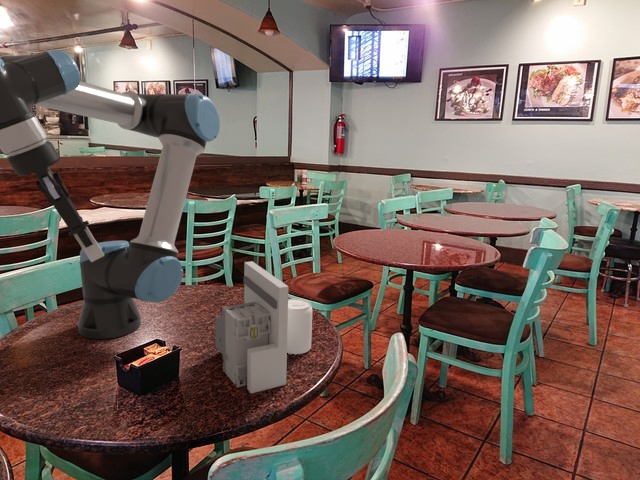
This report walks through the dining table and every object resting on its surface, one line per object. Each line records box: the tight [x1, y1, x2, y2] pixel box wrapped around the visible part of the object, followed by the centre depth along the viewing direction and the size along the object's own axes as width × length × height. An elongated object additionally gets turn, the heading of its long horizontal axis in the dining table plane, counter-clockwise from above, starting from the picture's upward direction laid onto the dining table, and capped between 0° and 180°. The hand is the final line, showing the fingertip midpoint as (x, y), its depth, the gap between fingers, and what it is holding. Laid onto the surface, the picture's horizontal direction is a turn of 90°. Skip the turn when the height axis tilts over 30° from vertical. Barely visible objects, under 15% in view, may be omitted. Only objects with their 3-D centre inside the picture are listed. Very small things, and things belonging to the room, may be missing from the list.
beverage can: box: [287, 297, 313, 356], centre depth 111 cm, size 8×8×12 cm
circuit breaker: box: [214, 302, 270, 388], centre depth 100 cm, size 8×14×15 cm, turn 33°
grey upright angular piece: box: [243, 260, 289, 394], centre depth 100 cm, size 20×8×22 cm, turn 30°
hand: (97, 257), depth 90 cm, fingers closed
